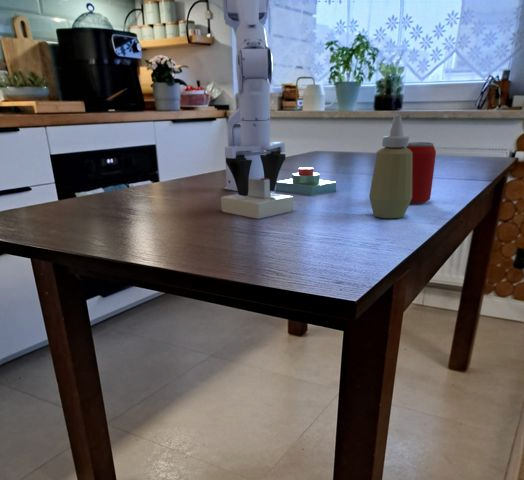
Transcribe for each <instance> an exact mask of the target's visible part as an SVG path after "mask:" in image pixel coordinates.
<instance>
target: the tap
mask: <svg viewBox="0 0 524 480" xmlns="http://www.w3.org/2000/svg"><path fill="white" fill-rule="evenodd" d="M270 193H271V191H270V180H269V179H268V178H264V177H263V178H254V177H249V191H248V196H253V197H259V198H269V197H270Z"/></svg>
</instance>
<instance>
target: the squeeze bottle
mask: <svg viewBox="0 0 524 480" xmlns="http://www.w3.org/2000/svg"><path fill="white" fill-rule="evenodd" d="M402 119H403V118H402V114H394V115H393V119H392V122H391V125H390V129H389V133H388V135H385V136H382V142H381V143H382V144H381V146H382V148H379V149H378V150H377V151H376V154H375V160H374V166H373V172H372V178H371V184H370V189H369V195H368V198H369V200H370V205H371V210H372V214H373V216H374V217H377V218H381V219H398V218H399V219H400V218H403V217H404V216H406V213H407V211H408V209H409V206H410V201H411V199H412V155H413V152H412V151H411V150H410V149H407V148H405V147H407V146H408V143H409V139H410V137H409V136H406V135H404V129H403V120H402Z"/></svg>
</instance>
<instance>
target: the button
mask: <svg viewBox="0 0 524 480" xmlns="http://www.w3.org/2000/svg"><path fill="white" fill-rule="evenodd" d="M298 173H299V175H313V173H314V167H311V166H307V167H306V166H305V167H299V168H298Z"/></svg>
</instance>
